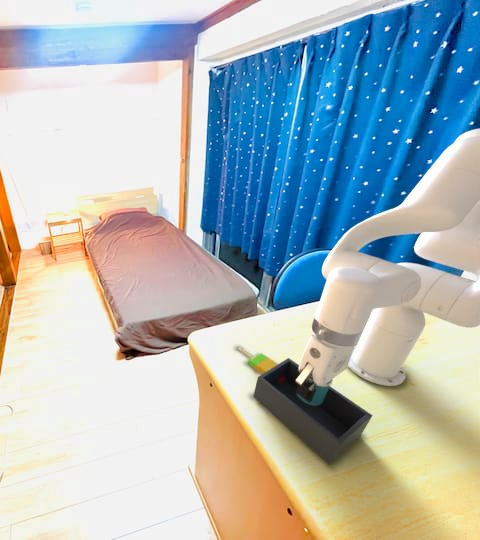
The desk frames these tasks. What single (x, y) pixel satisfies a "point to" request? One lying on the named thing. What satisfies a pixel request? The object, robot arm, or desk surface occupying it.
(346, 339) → the robot arm
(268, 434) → the desk surface
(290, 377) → the bin
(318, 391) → the paper cup
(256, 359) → the popsicle
